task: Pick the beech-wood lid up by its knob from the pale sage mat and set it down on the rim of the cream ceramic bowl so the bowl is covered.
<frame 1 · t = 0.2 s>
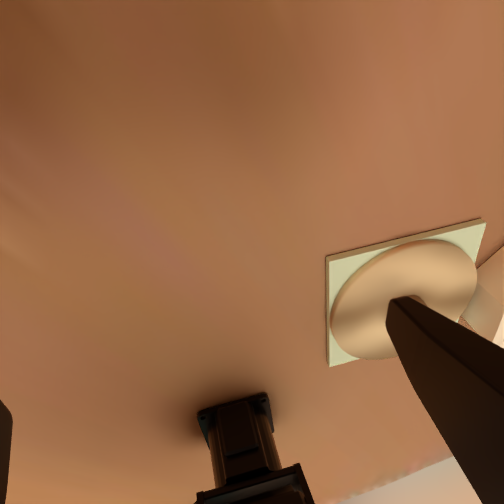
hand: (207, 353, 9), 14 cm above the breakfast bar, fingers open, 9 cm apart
mat: (396, 296, 32), on the breakfast bar
lid: (400, 301, 31), point 1 cm above the breakfast bar, touching mat
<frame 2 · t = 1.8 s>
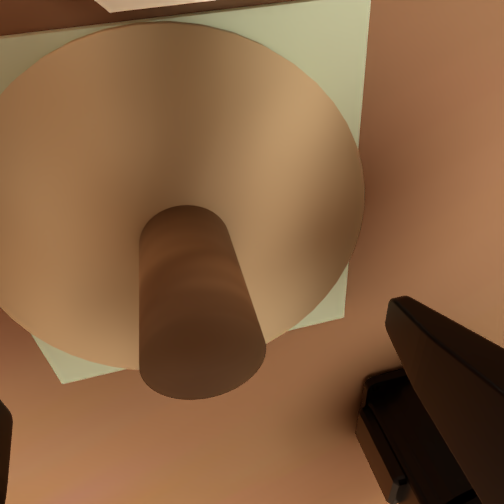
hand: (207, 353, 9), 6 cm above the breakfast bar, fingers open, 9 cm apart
mat: (181, 222, 13), on the breakfast bar
lid: (183, 231, 13), point 1 cm above the breakfast bar, touching mat
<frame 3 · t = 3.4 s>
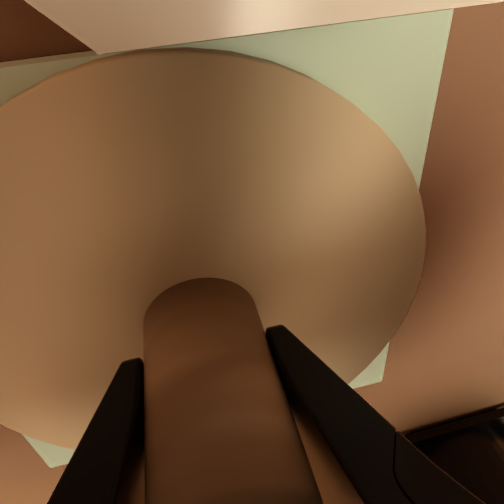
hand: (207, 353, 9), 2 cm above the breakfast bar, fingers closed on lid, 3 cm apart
mat: (195, 285, 11), on the breakfast bar
lid: (197, 300, 10), point 1 cm above the breakfast bar, touching gripper, mat
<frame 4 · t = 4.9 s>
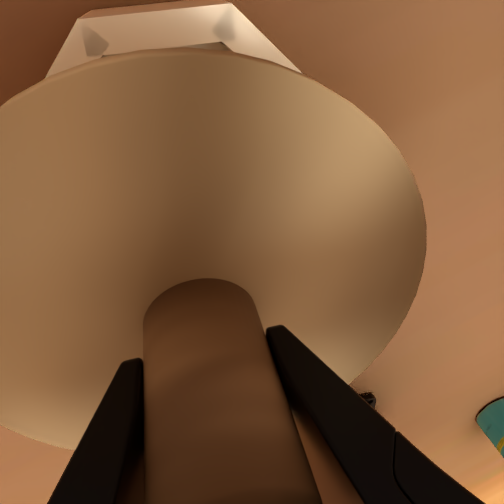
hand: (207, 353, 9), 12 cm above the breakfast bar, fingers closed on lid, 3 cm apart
bowl: (180, 144, 18), on the breakfast bar
tube: (494, 409, 41), on the breakfast bar
lid: (197, 300, 10), point 10 cm above the breakfast bar, touching gripper
when the fingers open (7 cm above the breakfast bar, at t = 6.4 s): lid drops 1 cm, resting on bowl.
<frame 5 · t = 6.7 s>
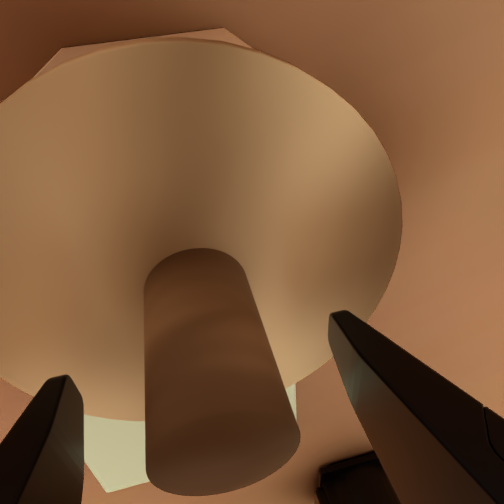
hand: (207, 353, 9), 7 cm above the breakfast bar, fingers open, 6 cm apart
mat: (186, 403, 21), on the breakfast bar
bowl: (181, 205, 14), on the breakfast bar
lid: (193, 272, 11), point 4 cm above the breakfast bar, touching bowl
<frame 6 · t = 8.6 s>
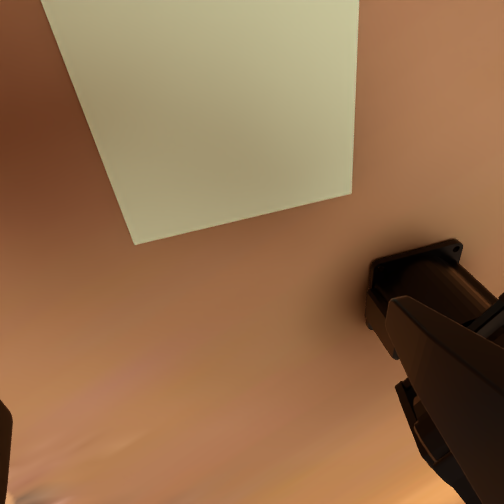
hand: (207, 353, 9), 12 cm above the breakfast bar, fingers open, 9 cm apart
mat: (226, 101, 18), on the breakfast bar
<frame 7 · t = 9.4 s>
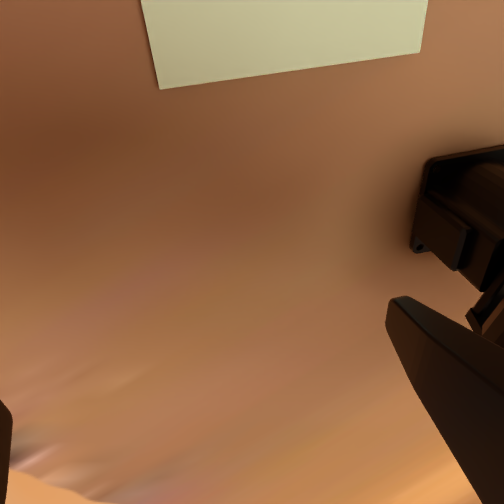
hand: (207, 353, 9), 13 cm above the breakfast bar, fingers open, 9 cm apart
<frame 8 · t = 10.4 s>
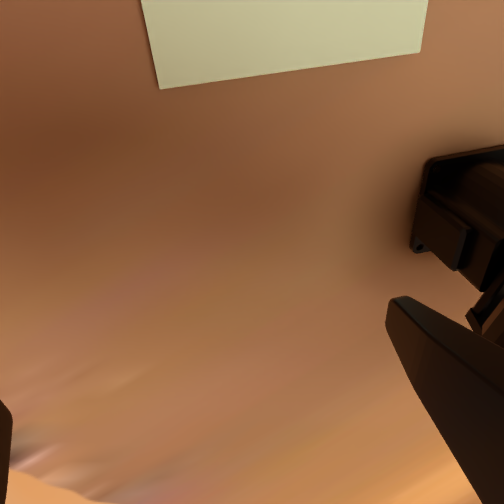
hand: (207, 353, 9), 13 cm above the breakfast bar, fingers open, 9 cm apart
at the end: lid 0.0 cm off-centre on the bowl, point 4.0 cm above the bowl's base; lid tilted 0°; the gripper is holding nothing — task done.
